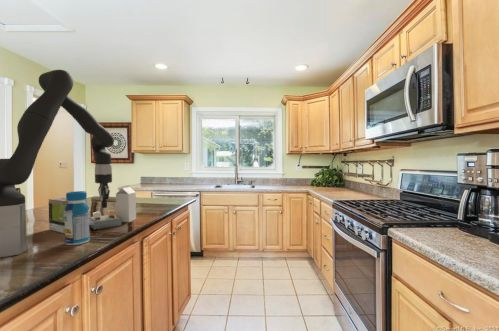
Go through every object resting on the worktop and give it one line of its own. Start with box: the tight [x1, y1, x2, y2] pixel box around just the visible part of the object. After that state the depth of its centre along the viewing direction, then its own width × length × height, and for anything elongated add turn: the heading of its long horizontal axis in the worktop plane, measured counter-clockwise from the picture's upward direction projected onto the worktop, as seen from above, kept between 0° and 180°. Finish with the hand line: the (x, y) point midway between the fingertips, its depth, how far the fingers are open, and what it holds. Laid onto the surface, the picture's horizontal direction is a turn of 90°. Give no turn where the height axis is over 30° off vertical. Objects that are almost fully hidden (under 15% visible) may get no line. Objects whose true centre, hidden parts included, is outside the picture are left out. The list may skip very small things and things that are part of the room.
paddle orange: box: [106, 209, 116, 215], centre depth 134 cm, size 4×3×2 cm
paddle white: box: [92, 210, 103, 218], centre depth 130 cm, size 4×3×2 cm
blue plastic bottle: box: [64, 190, 91, 246], centre depth 104 cm, size 8×8×20 cm
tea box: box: [48, 196, 87, 234], centre depth 124 cm, size 15×10×15 cm, turn 58°
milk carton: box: [115, 184, 137, 223], centre depth 141 cm, size 7×7×19 cm
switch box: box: [89, 214, 122, 231], centre depth 132 cm, size 14×12×4 cm
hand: (104, 207), depth 132 cm, fingers closed
